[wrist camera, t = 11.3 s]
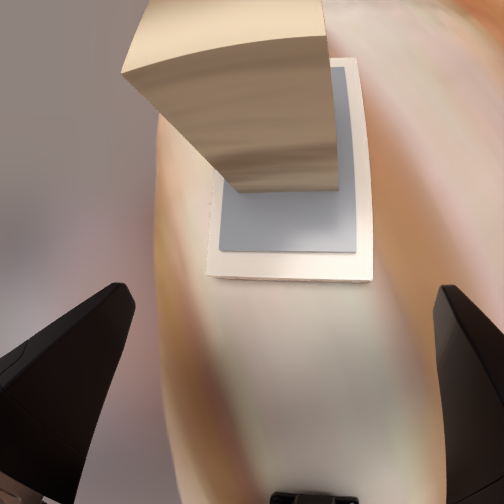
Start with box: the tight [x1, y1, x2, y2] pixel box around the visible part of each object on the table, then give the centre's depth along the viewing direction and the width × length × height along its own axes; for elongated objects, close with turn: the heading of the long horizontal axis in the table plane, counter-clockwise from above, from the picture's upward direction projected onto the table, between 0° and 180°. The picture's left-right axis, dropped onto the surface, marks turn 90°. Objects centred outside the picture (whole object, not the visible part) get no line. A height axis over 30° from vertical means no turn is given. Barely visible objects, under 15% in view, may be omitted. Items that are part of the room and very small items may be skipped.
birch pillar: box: [121, 0, 339, 193], centre depth 13 cm, size 6×6×12 cm
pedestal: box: [206, 58, 373, 283], centre depth 20 cm, size 16×10×3 cm, turn 177°
